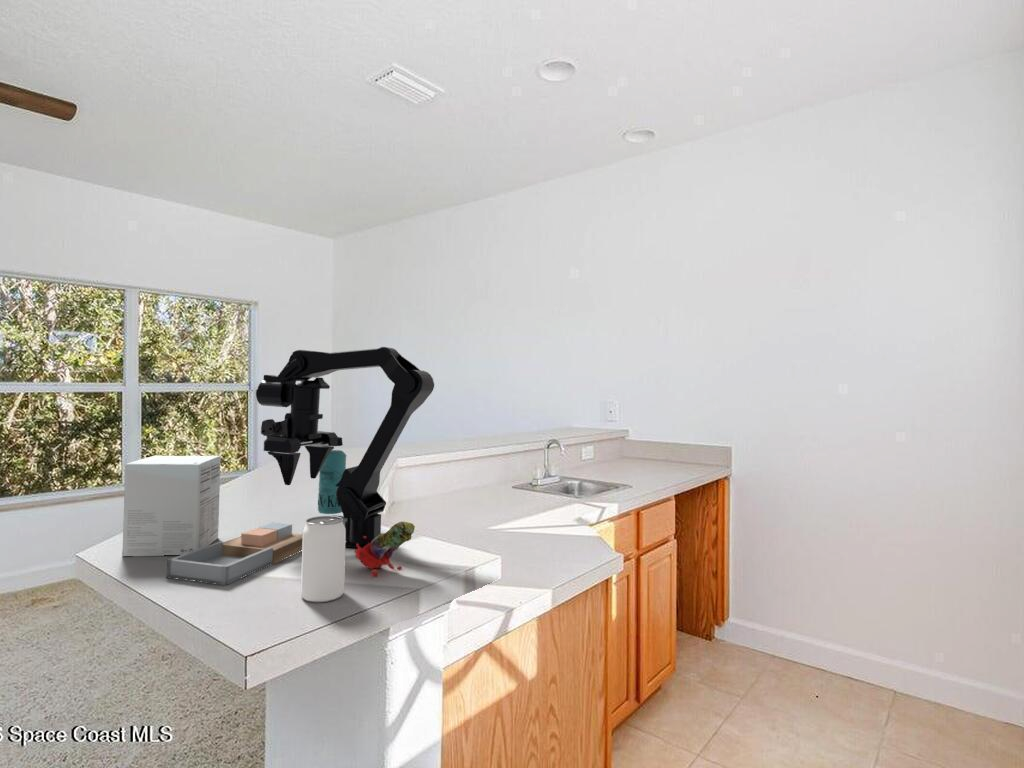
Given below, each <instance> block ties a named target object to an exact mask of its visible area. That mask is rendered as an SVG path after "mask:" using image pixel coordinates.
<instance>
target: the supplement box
mask: <svg viewBox="0 0 1024 768" xmlns="http://www.w3.org/2000/svg"><path fill="white" fill-rule="evenodd" d="M220 482H221V455H159V454H158V455H152V456H149V457H145V458H141V459H137V460H135V461H130V462H127V463H125V464H124V494H123V496H124V497H123V523H122V524H123V525H122V526H123V528H122V549H121V550H122V553H121V556H122V557H123V556H133V557H165V556H164V555H183V554H186V553H188V552H191V551H194V550H197V549H200V548H203V547H206V546H208V545H211V544H213V543H214V542H215V541H216V540H217V539H219V525H220V523H219V522H220V521H219V520H220V519H219V518H220V491H221V489H220V488H221V483H220Z"/></svg>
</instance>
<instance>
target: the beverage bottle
mask: <svg viewBox="0 0 1024 768" xmlns="http://www.w3.org/2000/svg"><path fill="white" fill-rule="evenodd" d="M342 446H344V445H343V438H342V437H340V436H338V444H337V445H333V446H332V447H342ZM346 465H347V454H346V453H345V452H344V450H341V449H332V451H331V452H330V454H329V456H328V457H327V459H326V460H325V462H324V464H323V466H322V468H321V469H320V471H319V473H318V478H319V479H318V499H317V510H318V513H319V514H322V515H323V514H324V515H335V514H342V509H341V506H340V504H339V503H338V501H337V497H336V491H337V488H338V487H339V486H336V484H337V483H339V481H340V480H341V478H342V475H343V472H344V471H345V469H347V466H346Z"/></svg>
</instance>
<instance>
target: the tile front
mask: <svg viewBox="0 0 1024 768" xmlns="http://www.w3.org/2000/svg"><path fill="white" fill-rule="evenodd" d="M240 536H241V544H245V545H254V546H264V545H266V544H269V543H271V542H274V541H276V540H277V530H272V529H263V528H259V527H257V528H253V529H251V530H247V531H245V532H242V533H241V535H240Z"/></svg>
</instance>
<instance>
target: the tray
mask: <svg viewBox="0 0 1024 768" xmlns="http://www.w3.org/2000/svg"><path fill="white" fill-rule="evenodd" d="M223 542H224V541H218V542H215V543H214V542H213V543H211V544H210V545H208V546H206V547H203V548H200V549H197V550H194V551H191V552H188V553H186V554H183V555H180V556H173V557H172V558H169V559H167V560H166V578H167V577H170V578H169V579H172V578H178V579H177V580H179V579H187V580H195V581H202V582H207V583H206V584H210V583H216V584H215V585H217V584H222V585H221V586H228V585H229V584H228V583H230V584H232V583H234V582H236V581H238V580H237V579H239V578H241V577H243V576H245V575H247V576H249V575H248V574H250V573H252V572H254V571H256V572H258V571H260V570H262V569H261V568H263V569H265V568H267V567H269V566H271V565H273V564H272V562H273V548H271V547H269V548H266V549H264V550H261V551H259V552H256V553H254V554H251V555H249V556H247V557H236V556H228V555H223ZM270 564H271V565H270ZM268 565H269V566H268ZM266 566H267V567H266ZM264 567H265V568H264ZM259 569H260V570H259ZM257 570H258V571H257ZM254 573H255V572H254ZM252 574H253V573H252ZM250 575H251V574H250ZM245 577H246V576H245ZM243 578H244V577H243ZM241 579H242V578H241ZM187 580H186V581H187ZM235 580H236V581H235ZM239 580H240V579H239ZM233 581H234V582H233ZM202 582H201V583H202ZM231 582H232V583H231ZM227 584H228V585H227Z"/></svg>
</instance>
